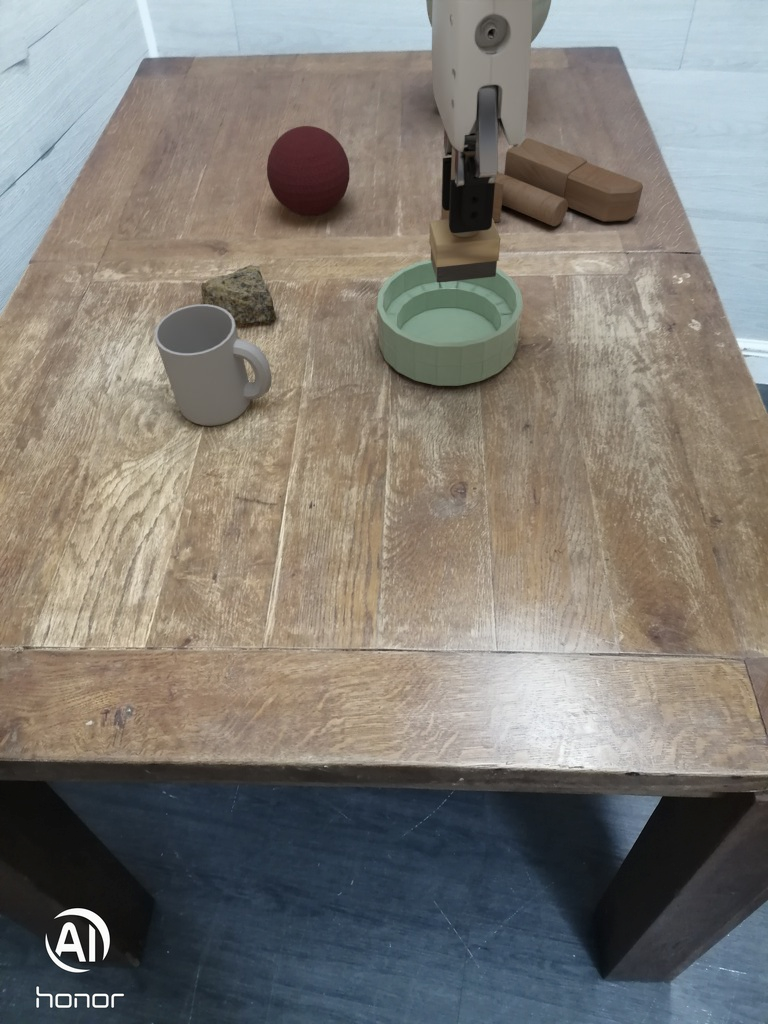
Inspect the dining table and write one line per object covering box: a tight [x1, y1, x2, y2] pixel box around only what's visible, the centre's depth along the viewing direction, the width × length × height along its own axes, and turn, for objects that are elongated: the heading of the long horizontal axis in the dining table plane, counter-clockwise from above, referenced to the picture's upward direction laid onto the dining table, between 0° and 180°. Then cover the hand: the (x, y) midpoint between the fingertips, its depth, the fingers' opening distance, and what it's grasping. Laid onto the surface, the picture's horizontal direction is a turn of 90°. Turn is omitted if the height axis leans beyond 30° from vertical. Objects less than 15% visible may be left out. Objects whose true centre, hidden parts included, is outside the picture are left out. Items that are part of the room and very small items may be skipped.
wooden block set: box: [440, 137, 644, 227], centre depth 91 cm, size 17×6×18 cm
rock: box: [200, 264, 277, 324], centre depth 83 cm, size 7×8×4 cm
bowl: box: [376, 259, 524, 387], centre depth 78 cm, size 14×14×6 cm
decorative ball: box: [266, 125, 351, 217], centre depth 93 cm, size 10×10×10 cm
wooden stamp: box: [428, 146, 501, 283], centre depth 59 cm, size 5×4×10 cm
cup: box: [154, 303, 273, 427], centre depth 72 cm, size 7×10×9 cm
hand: (466, 216), depth 59 cm, fingers closed on wooden stamp, 2 cm apart
